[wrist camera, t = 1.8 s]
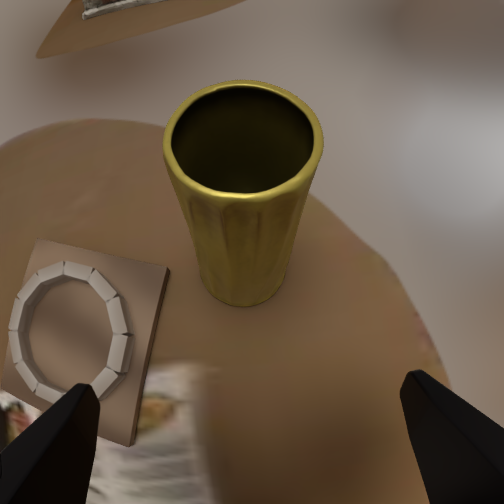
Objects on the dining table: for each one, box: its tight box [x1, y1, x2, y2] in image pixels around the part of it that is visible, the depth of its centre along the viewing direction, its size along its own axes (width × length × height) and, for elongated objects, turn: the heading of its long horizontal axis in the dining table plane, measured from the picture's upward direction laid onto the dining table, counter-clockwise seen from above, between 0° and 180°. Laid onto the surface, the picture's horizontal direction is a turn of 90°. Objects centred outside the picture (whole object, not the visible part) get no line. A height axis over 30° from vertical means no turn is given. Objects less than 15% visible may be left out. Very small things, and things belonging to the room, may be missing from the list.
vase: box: [162, 80, 324, 307], centre depth 16 cm, size 6×6×14 cm
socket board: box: [1, 238, 170, 447], centre depth 20 cm, size 13×12×2 cm
